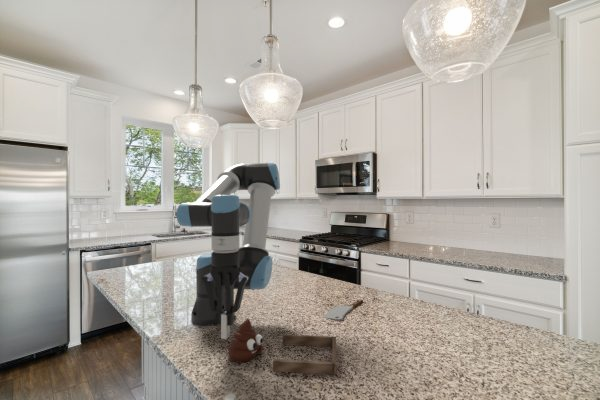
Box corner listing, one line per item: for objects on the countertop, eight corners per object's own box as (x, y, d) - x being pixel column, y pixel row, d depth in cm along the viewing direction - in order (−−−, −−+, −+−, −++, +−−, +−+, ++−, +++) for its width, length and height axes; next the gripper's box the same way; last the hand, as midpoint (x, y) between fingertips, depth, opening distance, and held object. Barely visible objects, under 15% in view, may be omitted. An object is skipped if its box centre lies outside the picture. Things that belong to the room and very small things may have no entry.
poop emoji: (246, 343, 86) (246, 311, 86) (269, 350, 82) (269, 316, 82) (221, 358, 78) (221, 323, 78) (245, 367, 73) (245, 330, 74)
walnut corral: (272, 371, 72) (272, 360, 72) (283, 342, 86) (283, 334, 86) (336, 375, 70) (336, 364, 70) (336, 345, 84) (336, 336, 84)
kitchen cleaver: (346, 297, 126) (368, 300, 120) (346, 299, 126) (368, 302, 120) (315, 315, 107) (339, 320, 101) (315, 318, 107) (339, 323, 101)
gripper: (196, 252, 78) (196, 341, 77) (244, 253, 76) (244, 344, 76) (209, 248, 85) (209, 329, 85) (252, 249, 84) (252, 332, 83)
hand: (225, 336), depth 80 cm, fingers closed
